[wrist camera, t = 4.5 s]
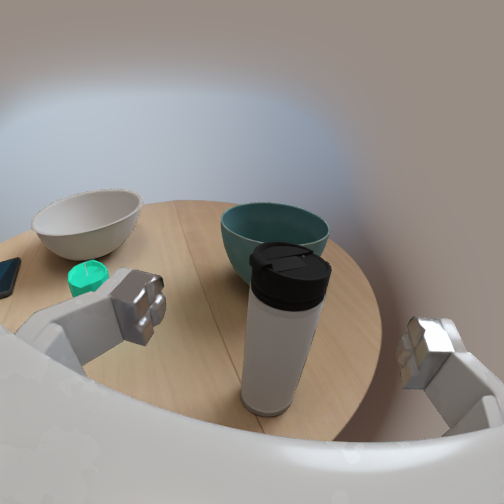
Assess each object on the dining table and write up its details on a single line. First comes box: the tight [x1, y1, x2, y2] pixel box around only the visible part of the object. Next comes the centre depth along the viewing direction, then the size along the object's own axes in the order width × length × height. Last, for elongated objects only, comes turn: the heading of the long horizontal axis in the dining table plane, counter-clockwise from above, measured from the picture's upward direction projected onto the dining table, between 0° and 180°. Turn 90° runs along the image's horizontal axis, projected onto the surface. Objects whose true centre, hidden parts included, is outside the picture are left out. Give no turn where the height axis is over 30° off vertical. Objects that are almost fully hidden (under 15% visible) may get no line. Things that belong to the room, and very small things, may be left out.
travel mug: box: [241, 241, 332, 417], centre depth 26 cm, size 6×7×20 cm
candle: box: [68, 260, 109, 298], centre depth 34 cm, size 6×6×12 cm
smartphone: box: [0, 257, 21, 298], centre depth 42 cm, size 8×15×1 cm, turn 31°
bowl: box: [31, 189, 143, 261], centre depth 55 cm, size 27×27×10 cm
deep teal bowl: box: [221, 202, 330, 286], centre depth 50 cm, size 18×18×12 cm
